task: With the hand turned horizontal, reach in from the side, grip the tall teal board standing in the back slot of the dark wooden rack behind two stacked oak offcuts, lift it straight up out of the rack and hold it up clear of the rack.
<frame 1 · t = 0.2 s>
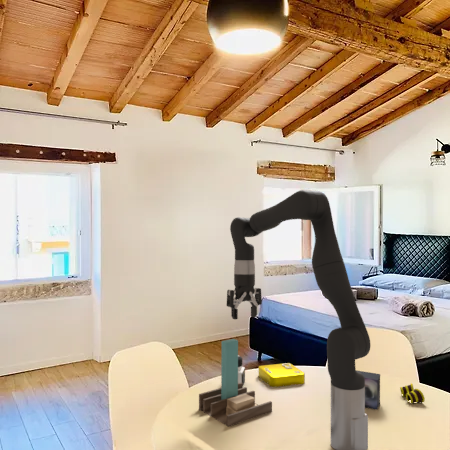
hand: (244, 318, 158), 29 cm above the table, tool pointing down, fingers open, 8 cm apart
opera glasses: (411, 400, 157), on the table
upper oak offcut: (241, 406, 140), point 4 cm above the table, touching lower oak offcut
lower oak offcut: (242, 413, 140), point 1 cm above the table, touching upper oak offcut, wooden rack
wooden rack: (235, 414, 143), on the table
medicine bottle: (234, 388, 167), on the table
element tile: (281, 380, 177), on the table
small box: (363, 404, 152), on the table
teal board: (229, 407, 146), point 1 cm above the table, touching wooden rack
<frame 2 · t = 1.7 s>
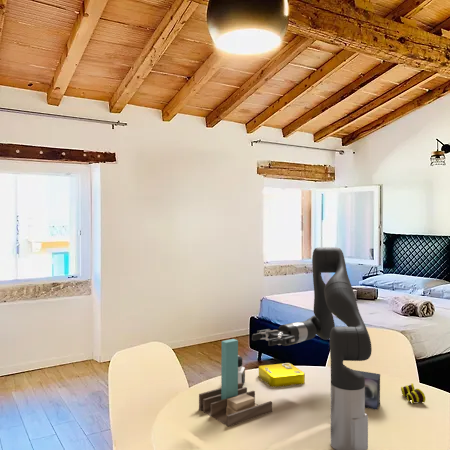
hand: (260, 340, 154), 22 cm above the table, tool horizontal, fingers open, 8 cm apart
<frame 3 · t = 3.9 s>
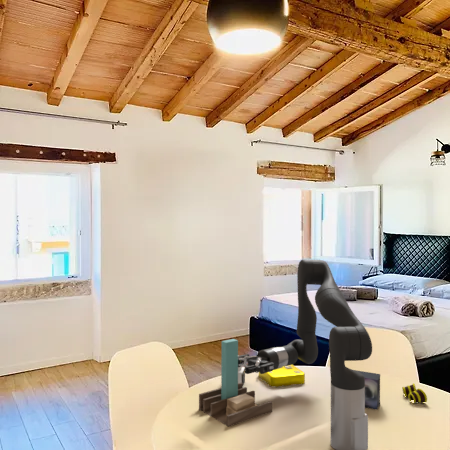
hand: (237, 367, 148), 14 cm above the table, tool horizontal, fingers open, 8 cm apart
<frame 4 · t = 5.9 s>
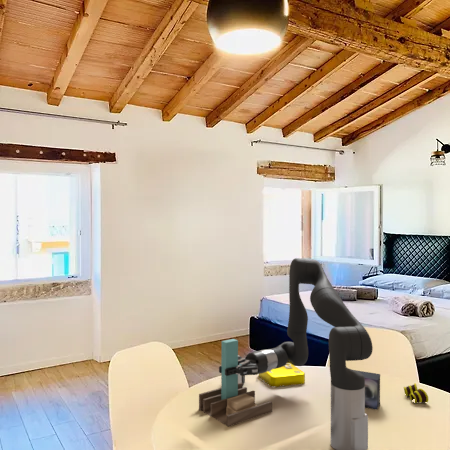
hand: (222, 371, 144), 14 cm above the table, tool horizontal, fingers closed on teal board, 2 cm apart
teal board: (229, 407, 146), point 1 cm above the table, touching gripper, wooden rack
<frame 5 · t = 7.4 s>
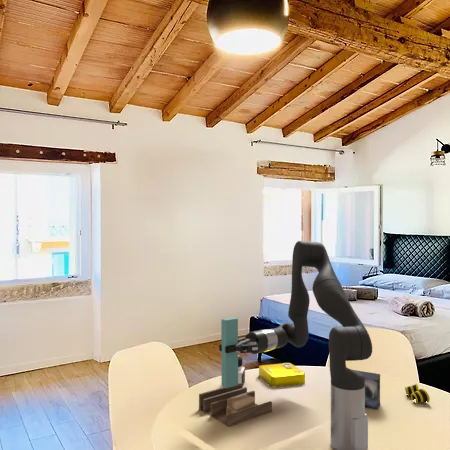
hand: (222, 349, 144), 21 cm above the table, tool horizontal, fingers closed on teal board, 2 cm apart
teal board: (229, 385, 145), point 9 cm above the table, touching gripper
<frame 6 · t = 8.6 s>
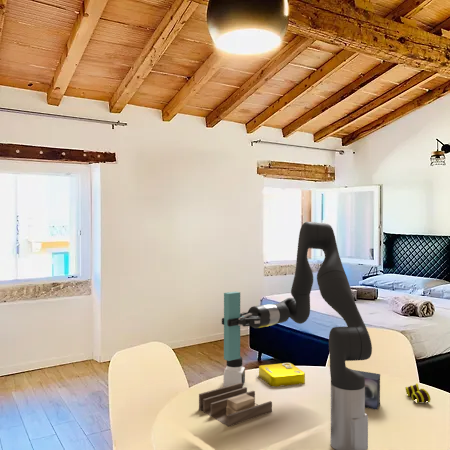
hand: (225, 322, 145), 30 cm above the table, tool horizontal, fingers closed on teal board, 2 cm apart
teal board: (232, 358, 146), point 17 cm above the table, touching gripper
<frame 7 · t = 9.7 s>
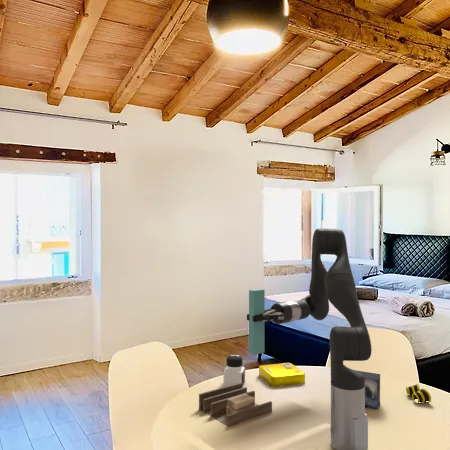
hand: (250, 318, 151), 30 cm above the table, tool horizontal, fingers closed on teal board, 2 cm apart
teal board: (256, 353, 153), point 17 cm above the table, touching gripper
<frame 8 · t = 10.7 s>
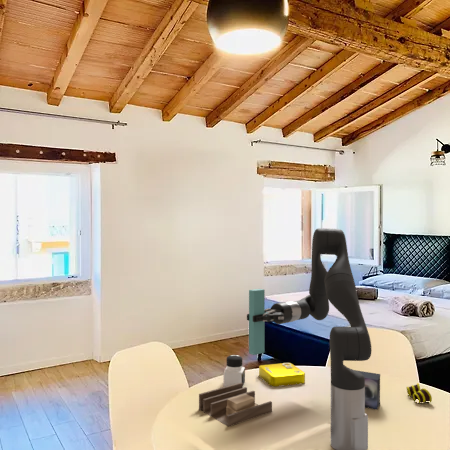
hand: (250, 318, 151), 30 cm above the table, tool horizontal, fingers closed on teal board, 2 cm apart
teal board: (256, 353, 153), point 17 cm above the table, touching gripper
at the end: teal board point 17.4 cm above the table; the gripper is holding teal board; upper oak offcut moved 0.0 cm from its start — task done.
